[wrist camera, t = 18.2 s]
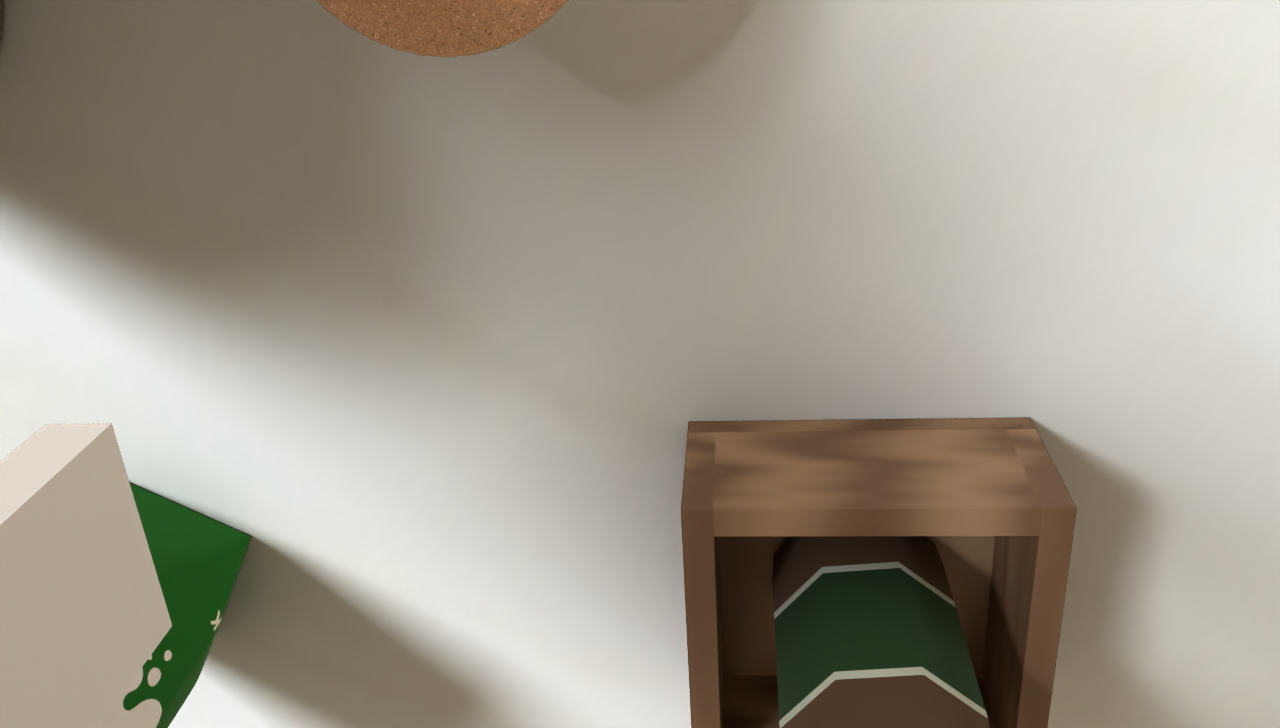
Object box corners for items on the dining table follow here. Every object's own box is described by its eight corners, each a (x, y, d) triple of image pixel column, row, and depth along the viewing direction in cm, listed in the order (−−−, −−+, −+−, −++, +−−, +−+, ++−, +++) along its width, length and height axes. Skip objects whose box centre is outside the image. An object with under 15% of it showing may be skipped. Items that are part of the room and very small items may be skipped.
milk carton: (96, 450, 50) (-263, 785, 32) (278, 530, 51) (30, 898, 33) (55, 584, 54) (-288, 952, 36) (226, 656, 55) (-23, 1049, 37)
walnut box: (699, 679, 53) (694, 791, 47) (688, 421, 47) (680, 509, 41) (1000, 683, 52) (1037, 798, 45) (1029, 417, 46) (1076, 508, 39)
